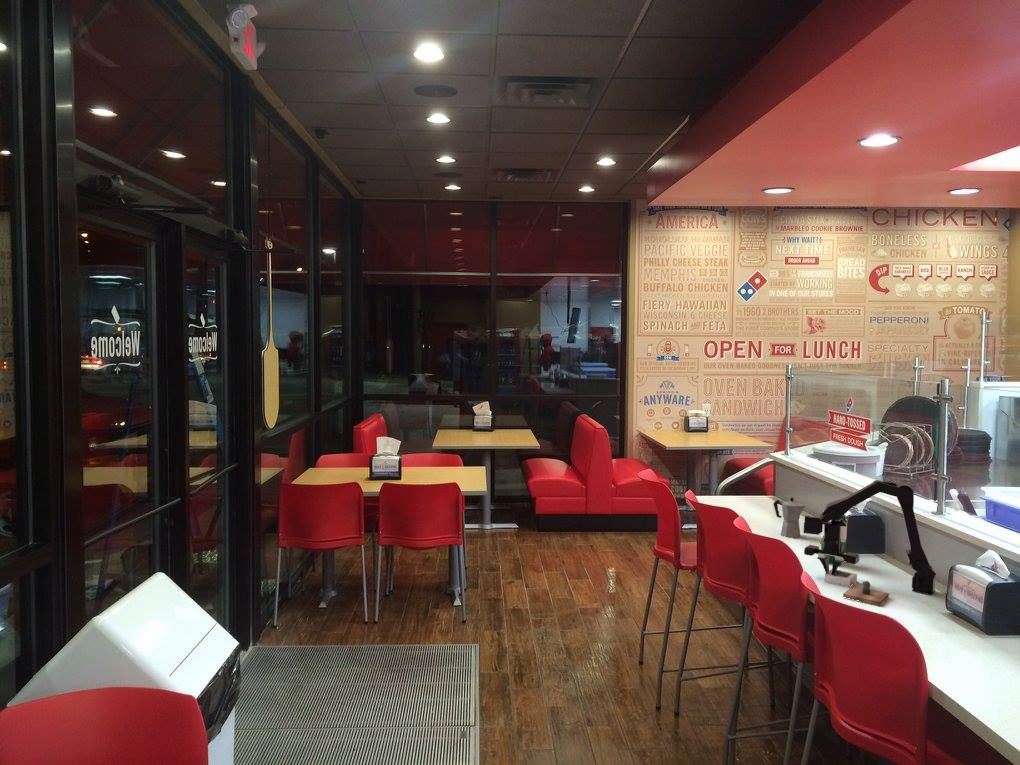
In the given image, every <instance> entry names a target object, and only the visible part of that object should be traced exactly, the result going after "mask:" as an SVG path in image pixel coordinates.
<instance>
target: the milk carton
mask: <svg viewBox="0 0 1020 765" xmlns="http://www.w3.org/2000/svg"><path fill="white" fill-rule="evenodd" d="M840 519H843V521H844V522H845V523H846V526H841V536H840V538H841V543H844V551H843V552H840V553H841V554H847V553H846V552H847V551H846V550H847V531H848V519H847V516H846V514H844V515H843V516H842V517H841V518H839V519H838V521H839V520H840ZM828 522H831V520H830V521H828ZM824 526H825V524H823V530H822V532H821V544H820V545H821V546H820V547H821V548H820V549H821V550H823V549H824V542H823V539H824ZM827 554H829V553H827ZM833 555H834V554H833ZM834 560H835V557H831V556H830V558H829V565H833V561H834ZM844 563H846V562H845V561H844ZM840 566H842V563H841V564H840V565H839V566H838V567H840Z"/></svg>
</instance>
